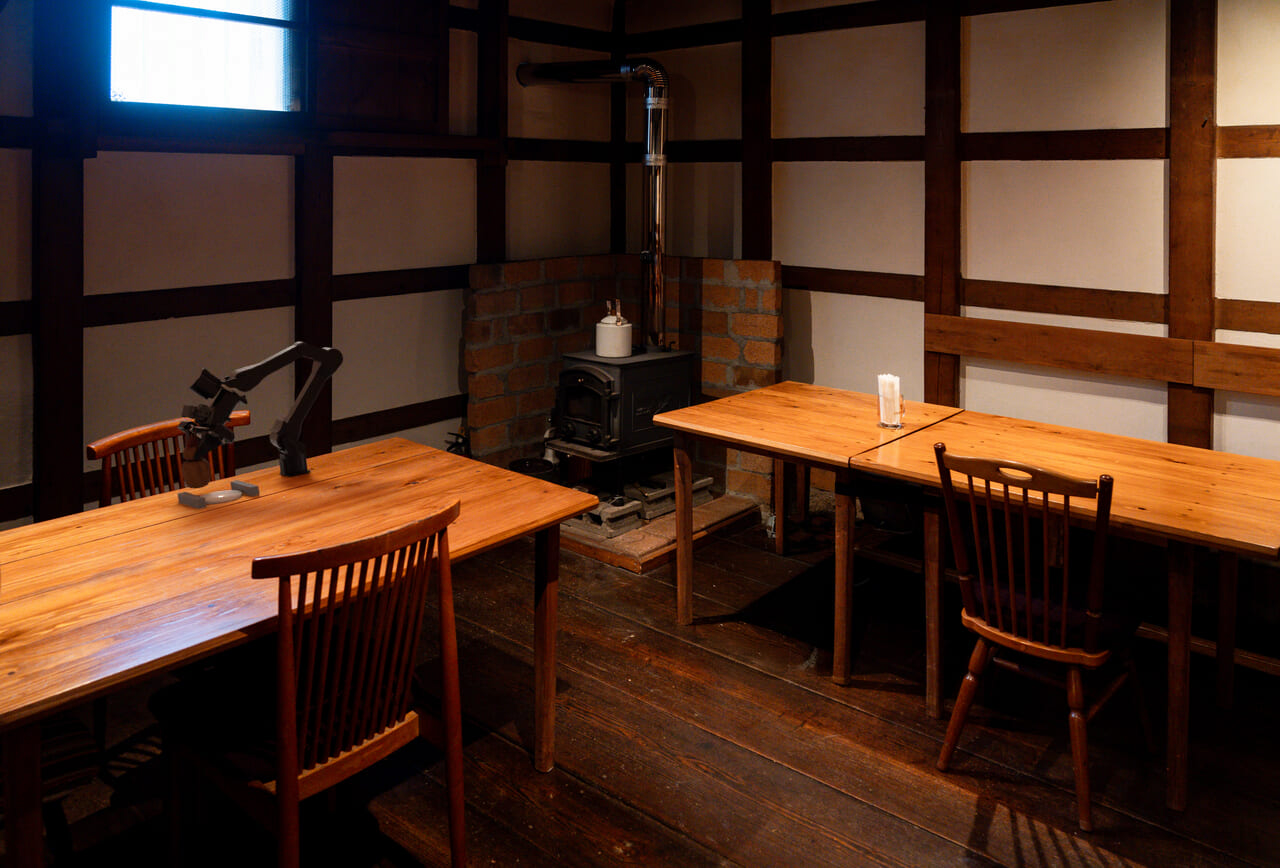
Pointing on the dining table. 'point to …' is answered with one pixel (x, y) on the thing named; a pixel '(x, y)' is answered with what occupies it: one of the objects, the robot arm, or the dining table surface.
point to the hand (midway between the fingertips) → (189, 458)
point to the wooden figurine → (195, 466)
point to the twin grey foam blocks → (200, 501)
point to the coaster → (221, 496)
